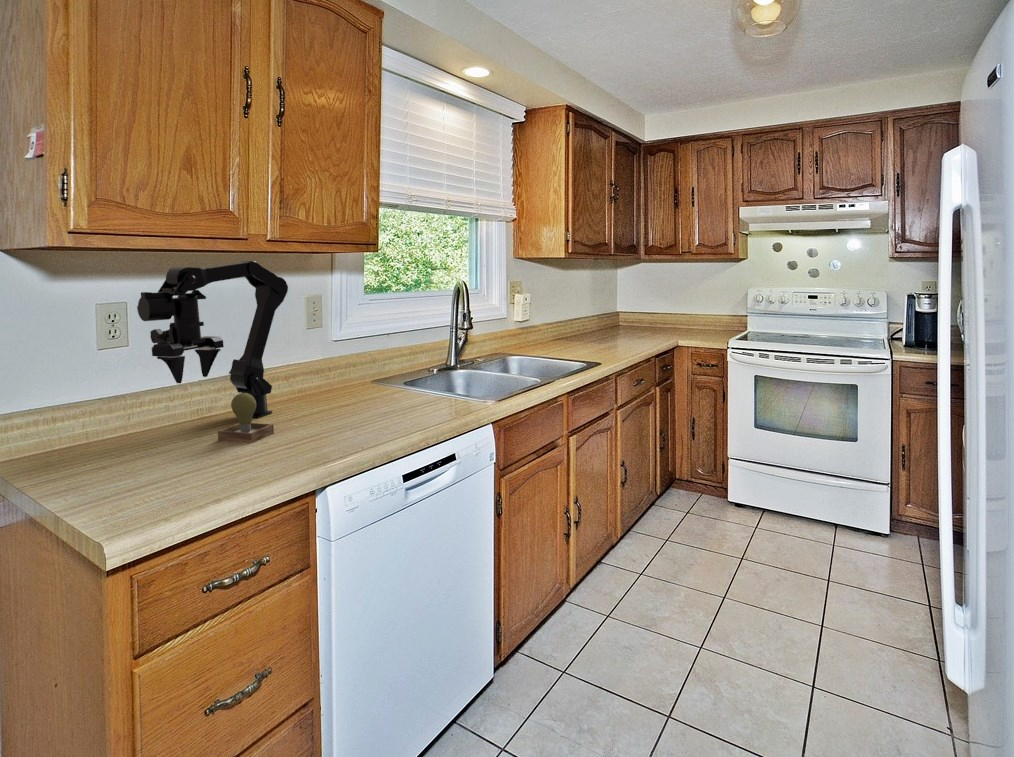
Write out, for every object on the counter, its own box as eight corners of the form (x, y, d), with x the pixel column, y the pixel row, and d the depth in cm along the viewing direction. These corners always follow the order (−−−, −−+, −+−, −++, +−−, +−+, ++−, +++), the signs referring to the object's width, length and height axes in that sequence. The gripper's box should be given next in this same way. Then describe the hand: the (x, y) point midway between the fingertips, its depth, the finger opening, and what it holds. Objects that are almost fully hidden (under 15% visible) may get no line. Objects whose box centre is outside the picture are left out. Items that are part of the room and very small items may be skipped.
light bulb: (233, 431, 156) (231, 391, 154) (258, 429, 158) (255, 390, 156) (232, 437, 151) (229, 396, 149) (257, 435, 152) (255, 394, 151)
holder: (242, 431, 160) (241, 422, 159) (274, 433, 158) (273, 424, 157) (218, 440, 151) (217, 431, 151) (251, 443, 149) (250, 433, 149)
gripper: (186, 314, 169) (191, 372, 172) (129, 320, 151) (136, 385, 154) (222, 315, 166) (227, 374, 169) (168, 321, 148) (175, 387, 151)
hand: (192, 379), depth 161 cm, fingers open, 9 cm apart
